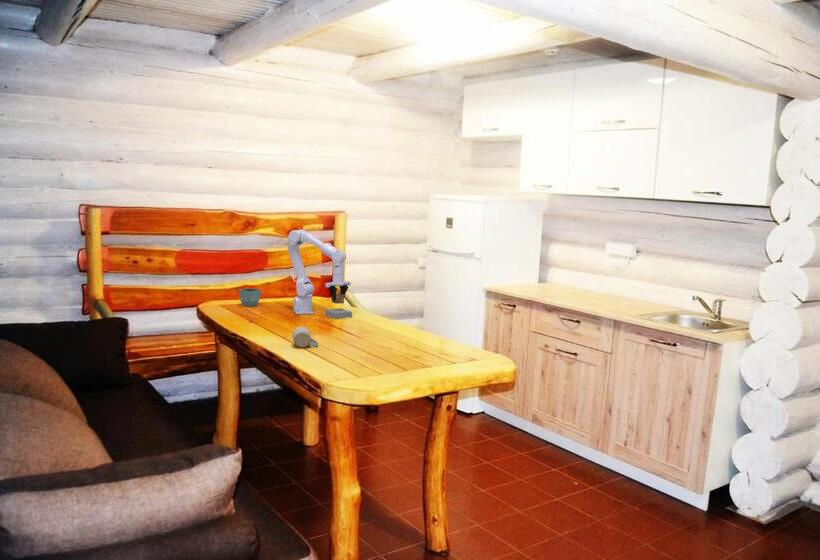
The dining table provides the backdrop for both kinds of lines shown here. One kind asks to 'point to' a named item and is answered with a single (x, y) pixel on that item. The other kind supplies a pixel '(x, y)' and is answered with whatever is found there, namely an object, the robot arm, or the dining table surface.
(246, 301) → the flower pot
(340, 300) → the walnut cube
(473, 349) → the dining table surface
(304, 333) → the ceramic mug
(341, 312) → the base block
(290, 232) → the robot arm
